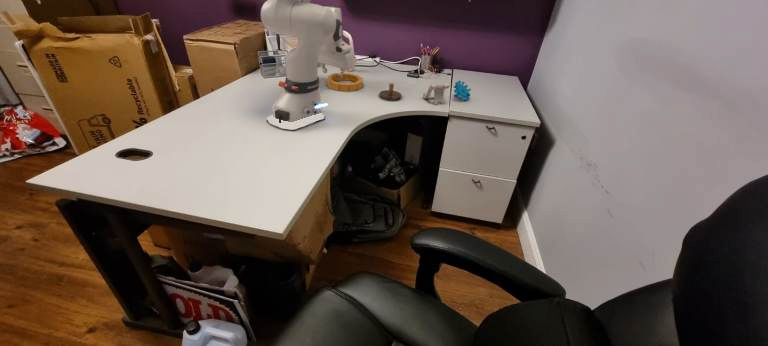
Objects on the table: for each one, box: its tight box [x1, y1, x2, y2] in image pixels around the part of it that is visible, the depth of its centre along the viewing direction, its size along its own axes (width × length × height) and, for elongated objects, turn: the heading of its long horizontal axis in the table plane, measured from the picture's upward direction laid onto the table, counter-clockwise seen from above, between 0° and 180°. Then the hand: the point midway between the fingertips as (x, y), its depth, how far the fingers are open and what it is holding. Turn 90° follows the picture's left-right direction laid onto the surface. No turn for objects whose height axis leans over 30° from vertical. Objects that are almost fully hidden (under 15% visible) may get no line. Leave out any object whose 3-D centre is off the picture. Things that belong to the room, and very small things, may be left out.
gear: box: [453, 79, 472, 102], centre depth 152 cm, size 11×6×10 cm
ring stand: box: [379, 82, 402, 102], centre depth 146 cm, size 10×10×6 cm
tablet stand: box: [422, 83, 450, 105], centre depth 145 cm, size 9×8×8 cm
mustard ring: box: [326, 72, 364, 92], centre depth 155 cm, size 17×17×3 cm
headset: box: [343, 30, 357, 72], centre depth 174 cm, size 20×7×18 cm, turn 26°
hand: (332, 74), depth 156 cm, fingers open, 8 cm apart
